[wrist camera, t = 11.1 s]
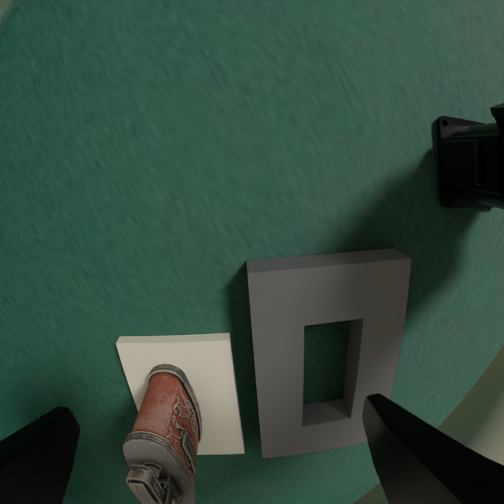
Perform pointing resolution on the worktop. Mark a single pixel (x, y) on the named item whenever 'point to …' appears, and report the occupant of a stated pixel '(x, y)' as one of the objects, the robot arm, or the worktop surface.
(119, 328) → the worktop surface
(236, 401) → the rubber mat
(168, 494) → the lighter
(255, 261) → the grey rectangular frame
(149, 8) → the worktop surface
